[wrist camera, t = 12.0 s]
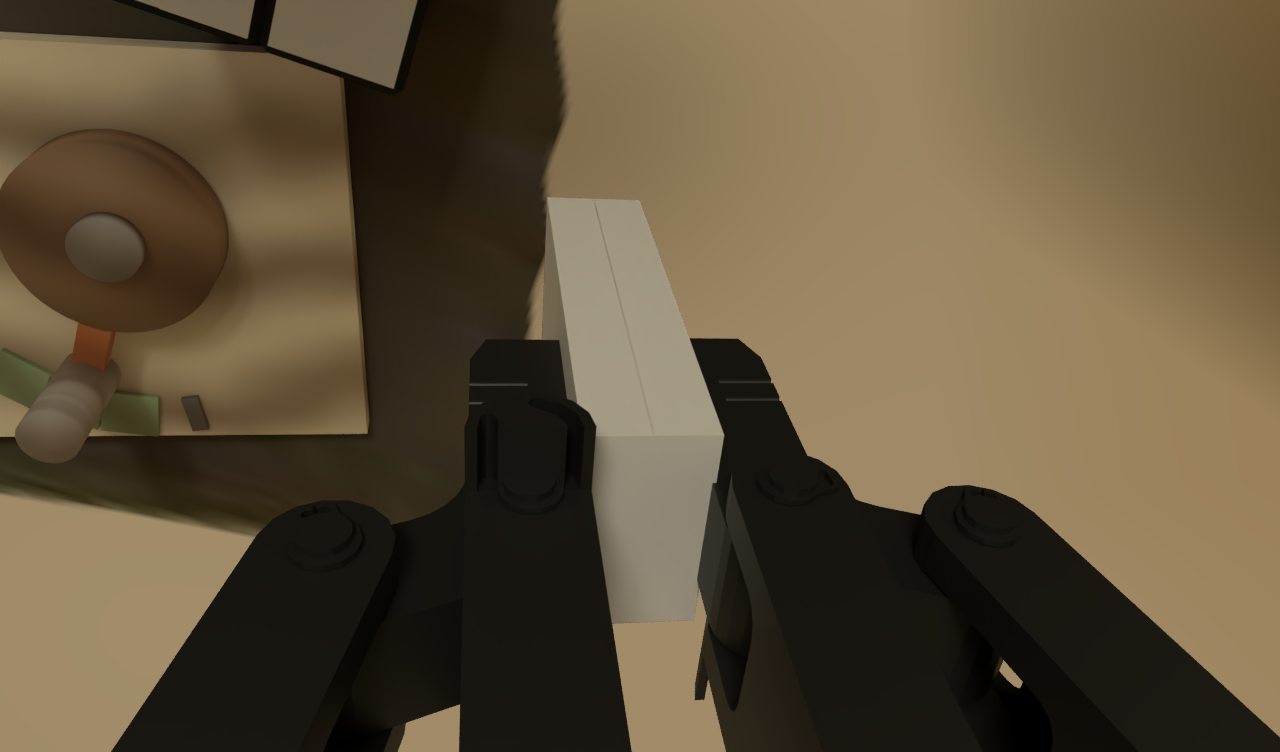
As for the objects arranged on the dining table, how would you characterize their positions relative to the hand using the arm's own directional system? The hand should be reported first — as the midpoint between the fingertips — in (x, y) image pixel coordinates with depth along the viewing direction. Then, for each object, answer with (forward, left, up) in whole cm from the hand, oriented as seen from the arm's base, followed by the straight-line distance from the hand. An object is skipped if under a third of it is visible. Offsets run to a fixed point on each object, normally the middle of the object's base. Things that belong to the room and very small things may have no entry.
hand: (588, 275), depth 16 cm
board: (+14, -19, -30) cm, 38 cm away
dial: (+14, -19, -29) cm, 37 cm away
